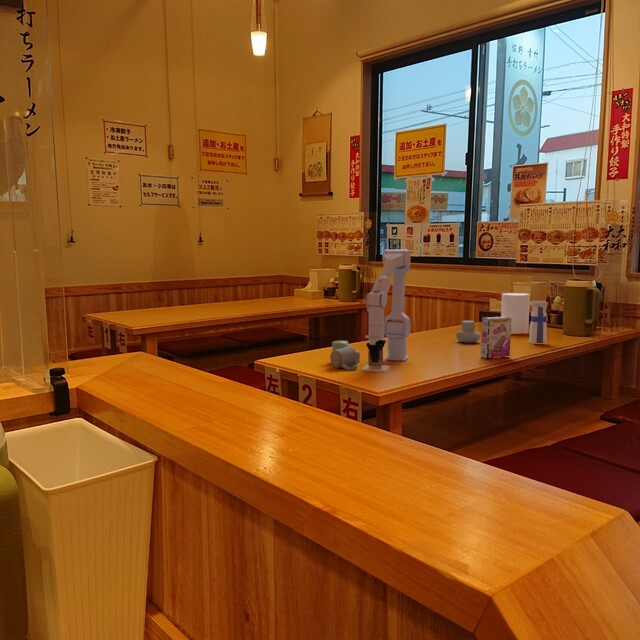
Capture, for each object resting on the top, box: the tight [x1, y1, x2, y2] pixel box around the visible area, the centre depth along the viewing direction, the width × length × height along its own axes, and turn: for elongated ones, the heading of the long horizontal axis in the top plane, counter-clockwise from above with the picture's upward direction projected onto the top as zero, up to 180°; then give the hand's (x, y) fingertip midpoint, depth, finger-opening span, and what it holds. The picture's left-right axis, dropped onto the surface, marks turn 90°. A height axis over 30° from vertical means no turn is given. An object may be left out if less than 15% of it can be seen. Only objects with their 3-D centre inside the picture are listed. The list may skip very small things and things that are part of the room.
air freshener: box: [455, 320, 481, 344], centre depth 277 cm, size 11×8×10 cm
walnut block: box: [367, 349, 384, 367], centre depth 221 cm, size 5×5×6 cm
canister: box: [500, 292, 531, 334], centre depth 304 cm, size 14×14×20 cm
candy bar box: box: [480, 316, 512, 359], centre depth 240 cm, size 11×5×16 cm, turn 111°
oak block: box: [355, 350, 361, 363], centre depth 236 cm, size 4×4×4 cm
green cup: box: [331, 340, 350, 352], centre depth 234 cm, size 6×6×8 cm
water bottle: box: [528, 291, 550, 344], centre depth 272 cm, size 8×9×25 cm
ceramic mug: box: [329, 345, 358, 371], centre depth 223 cm, size 11×8×8 cm
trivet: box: [361, 363, 391, 373], centre depth 221 cm, size 9×9×1 cm
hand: (376, 360), depth 221 cm, fingers closed on walnut block, 5 cm apart
